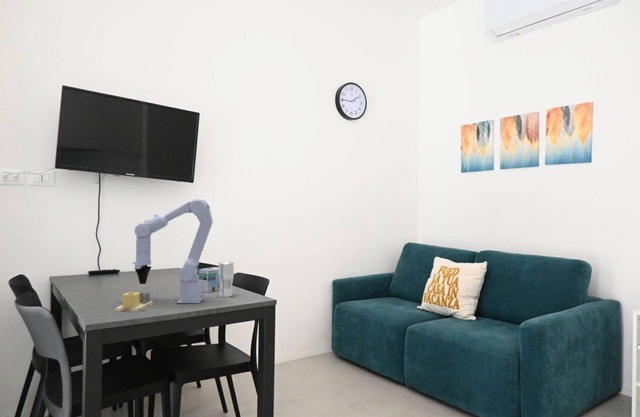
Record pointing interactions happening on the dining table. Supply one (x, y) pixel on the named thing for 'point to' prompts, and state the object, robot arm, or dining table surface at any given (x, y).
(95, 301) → the dining table surface
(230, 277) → the beer glass
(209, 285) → the light bulb box
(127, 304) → the block
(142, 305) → the base plate
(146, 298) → the housing
